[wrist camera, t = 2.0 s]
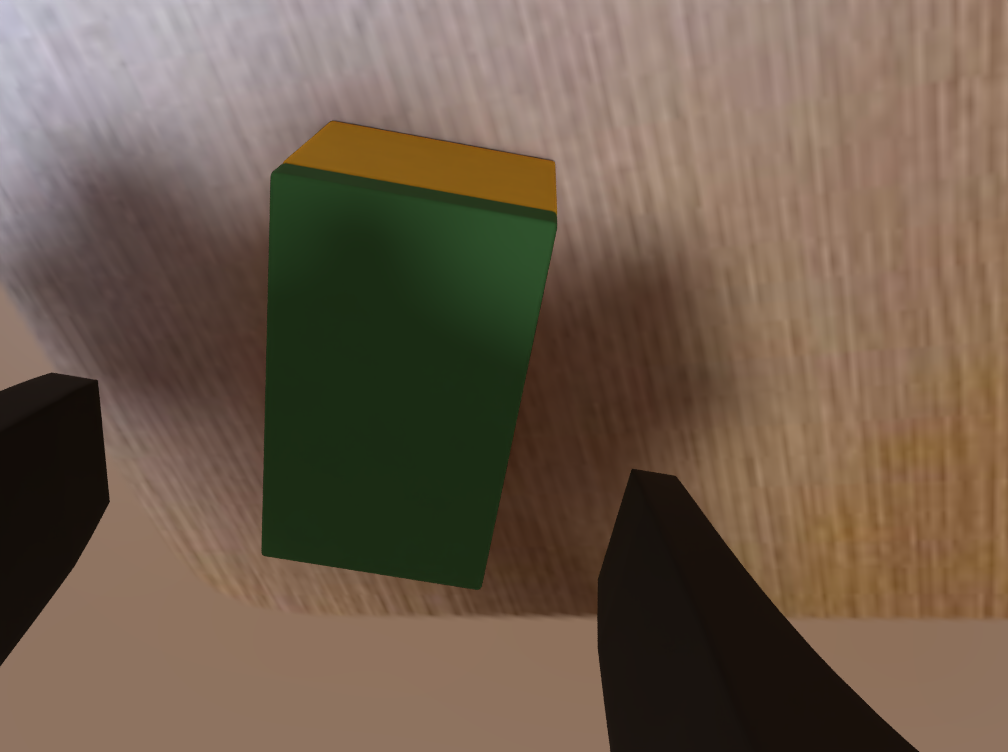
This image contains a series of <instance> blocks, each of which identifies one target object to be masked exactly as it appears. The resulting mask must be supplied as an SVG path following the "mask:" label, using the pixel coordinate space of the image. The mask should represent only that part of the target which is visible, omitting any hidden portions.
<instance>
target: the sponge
mask: <svg viewBox="0 0 1008 752" xmlns="http://www.w3.org/2000/svg"><path fill="white" fill-rule="evenodd" d="M556 231H557V197H556V173H555V162H553V161H549V160H544V159H538V158H533V157H528V156H522V155H517V154H511V153H506V152H500V151H495V150H489V149H484V148H478V147H473V146H467V145H462V144H456V143H451V142H445V141H440V140H434V139H429V138H424V137H418V136H413V135H407V134H402V133H396V132H391V131H385V130H380V129H374V128H369V127H363V126H358V125H352V124H347V123H341V122H336V121H330V122H329V123H328V124H327V125H326V126H325V127H323V128H322V129H321V130H320V131H319V132H318V133H316V134H315V135H314V136H313V137H312V138H311V139H309V140H308V141H307V142H306V143H305V144H304V145H302V146H301V147H300V148H299V149H298V150H297V151H295V152H294V153H293V154H292V155H291V156H290V157H288V158H287V159H286V160H285V161H284V162H283V164H281V165H280V166H279V167H278V168H277V169H275V170H274V171H273V172H272V174H271V180H270V221H269V263H268V304H267V346H266V387H265V428H264V470H263V511H262V555H264V556H267V557H274V558H280V559H286V560H293V561H299V562H305V563H311V564H318V565H324V566H330V567H337V568H343V569H349V570H355V571H362V572H368V573H374V574H380V575H387V576H393V577H399V578H406V579H412V580H418V581H424V582H431V583H437V584H443V585H450V586H456V587H462V588H468V589H475V590H479V589H480V588H481V587H482V583H483V578H484V574H485V569H486V564H487V559H488V555H489V550H490V545H491V540H492V536H493V531H494V526H495V521H496V517H497V512H498V507H499V502H500V498H501V493H502V488H503V483H504V478H505V474H506V469H507V464H508V459H509V455H510V450H511V445H512V440H513V436H514V431H515V426H516V421H517V417H518V412H519V407H520V402H521V398H522V393H523V388H524V383H525V379H526V374H527V369H528V364H529V360H530V355H531V350H532V345H533V341H534V336H535V331H536V326H537V321H538V317H539V312H540V307H541V302H542V298H543V293H544V288H545V283H546V279H547V274H548V269H549V264H550V260H551V255H552V250H553V245H554V241H555V236H556Z"/></svg>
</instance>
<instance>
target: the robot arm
mask: <svg viewBox="0 0 1008 752" xmlns="http://www.w3.org/2000/svg"><path fill="white" fill-rule="evenodd" d="M109 502H110V500H109V490H108V479H107V469H106V459H105V448H104V438H103V428H102V417H101V407H100V397H99V387H98V380H93V379H87V378H81V377H75V376H69V375H63V374H57V373H49V374H46V375H42V376H40V377H37V378H34V379H31V380H28V381H25V382H23V383H20V384H17V385H15V386H12V387H9V388H7V389H4V390H2V391H0V666H1V665H2V663H3V662H4V661H5V659H6V658H7V657H8V655H9V654H10V653H11V651H12V650H13V649H14V647H15V646H16V645H17V643H18V642H19V641H20V639H21V638H22V637H23V635H24V634H25V633H26V631H27V630H28V629H29V627H30V626H31V625H32V623H33V622H34V621H35V619H36V618H37V617H38V615H39V614H40V613H41V611H42V610H43V608H44V607H45V606H46V604H47V603H48V602H49V600H50V599H51V598H52V596H53V595H54V594H55V592H56V591H57V590H58V588H59V587H60V586H61V584H62V583H63V581H64V580H65V578H66V577H67V576H68V574H69V573H70V572H71V570H72V569H73V568H74V566H75V564H76V563H77V561H78V559H79V557H80V556H81V554H82V552H83V550H84V549H85V547H86V545H87V543H88V542H89V540H90V538H91V536H92V534H93V533H94V531H95V529H96V527H97V525H98V523H99V521H100V519H101V518H102V516H103V514H104V512H105V510H106V508H107V506H108V504H109ZM597 620H598V654H599V663H600V671H601V678H602V688H603V696H604V704H605V712H606V720H607V728H608V736H609V743H610V752H919V751H918V750H917V749H915V748H914V747H913V746H912V745H911V744H909V742H907V741H906V740H905V739H904V738H903V737H902V736H901V735H900V734H899V733H898V732H896V731H895V730H894V729H893V728H892V727H891V726H890V725H889V724H888V723H887V722H886V721H884V720H883V719H882V718H881V717H880V716H879V715H878V714H877V713H876V712H875V711H874V710H873V709H872V708H871V707H870V706H869V705H868V704H867V703H866V702H865V701H864V700H863V699H862V698H861V697H860V696H859V695H858V694H857V693H856V692H855V691H854V690H853V689H851V687H850V686H848V684H846V683H845V682H844V681H843V680H842V679H841V678H840V677H839V676H838V675H837V674H836V673H835V672H834V671H833V670H832V669H831V667H830V666H829V665H828V664H827V663H826V662H825V661H824V660H823V659H822V658H821V657H820V656H819V655H818V654H817V653H816V652H815V651H814V649H813V648H812V647H811V646H810V645H809V644H808V643H807V642H806V641H805V639H804V638H803V637H802V636H801V635H800V634H799V633H798V631H796V629H795V628H794V627H793V626H792V625H791V624H790V622H789V621H788V620H787V619H786V618H785V617H784V616H783V614H782V613H781V612H780V611H779V610H778V609H777V607H776V606H775V605H774V604H773V603H772V601H771V600H770V599H769V598H768V597H767V595H766V594H765V593H764V592H763V591H762V589H761V588H760V587H759V586H758V584H757V583H756V582H755V581H754V579H753V578H752V577H751V576H750V574H749V573H748V572H747V571H746V569H745V568H744V567H743V565H742V564H741V563H740V562H739V560H738V559H737V558H736V556H735V555H734V554H733V552H732V551H731V550H730V548H729V547H728V546H727V544H726V543H725V542H724V541H723V539H722V538H721V536H720V535H719V534H718V532H717V531H716V530H715V528H714V527H713V526H712V524H711V523H710V522H709V520H708V519H707V517H706V516H705V515H704V513H703V512H702V511H701V509H700V508H699V506H698V505H697V504H696V502H695V501H694V500H693V498H692V497H691V495H690V494H689V493H688V491H687V490H686V489H685V487H684V486H683V485H682V483H681V482H680V481H679V479H678V478H677V477H676V476H673V475H667V474H661V473H655V472H649V471H643V470H637V469H632V470H631V473H630V476H629V480H628V483H627V486H626V489H625V493H624V496H623V499H622V502H621V506H620V509H619V512H618V515H617V519H616V522H615V525H614V529H613V532H612V535H611V538H610V542H609V545H608V548H607V551H606V555H605V558H604V561H603V564H602V568H601V571H600V574H599V577H598V613H597Z"/></svg>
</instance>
